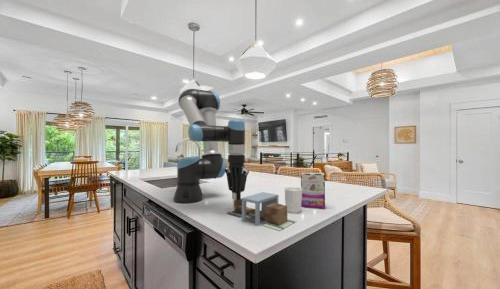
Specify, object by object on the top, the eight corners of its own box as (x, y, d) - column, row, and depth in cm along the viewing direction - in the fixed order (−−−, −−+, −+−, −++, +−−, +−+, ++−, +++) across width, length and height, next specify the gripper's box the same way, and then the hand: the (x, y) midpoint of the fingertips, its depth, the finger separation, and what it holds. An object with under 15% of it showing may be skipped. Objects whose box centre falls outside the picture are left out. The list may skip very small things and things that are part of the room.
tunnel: (222, 214, 93) (223, 193, 93) (244, 207, 103) (244, 188, 103) (278, 231, 75) (278, 205, 75) (297, 221, 85) (297, 198, 85)
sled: (233, 212, 94) (233, 198, 94) (242, 209, 99) (242, 196, 99) (278, 225, 79) (278, 209, 79) (287, 221, 84) (287, 205, 84)
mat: (262, 225, 80) (262, 224, 80) (280, 217, 89) (280, 216, 89) (279, 231, 75) (279, 230, 75) (296, 221, 84) (296, 221, 84)
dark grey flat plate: (226, 213, 94) (226, 213, 94) (241, 208, 102) (241, 208, 102) (239, 217, 89) (239, 217, 89) (255, 211, 97) (255, 211, 97)
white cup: (282, 211, 97) (282, 189, 97) (287, 207, 104) (287, 186, 104) (299, 214, 93) (299, 191, 93) (304, 209, 100) (304, 188, 100)
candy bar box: (324, 206, 106) (324, 172, 106) (325, 209, 101) (325, 174, 101) (301, 204, 109) (301, 171, 109) (300, 207, 105) (300, 173, 105)
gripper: (220, 154, 99) (220, 206, 98) (241, 155, 90) (241, 211, 90) (232, 153, 104) (232, 202, 104) (252, 154, 96) (252, 207, 96)
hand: (236, 206), depth 97 cm, fingers closed
